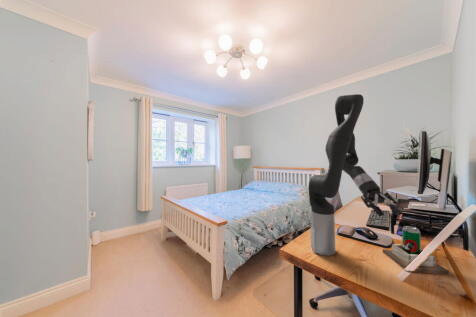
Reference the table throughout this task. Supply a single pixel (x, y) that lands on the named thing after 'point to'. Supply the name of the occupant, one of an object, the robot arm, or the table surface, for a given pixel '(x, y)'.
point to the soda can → (411, 240)
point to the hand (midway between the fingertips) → (390, 214)
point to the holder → (405, 259)
